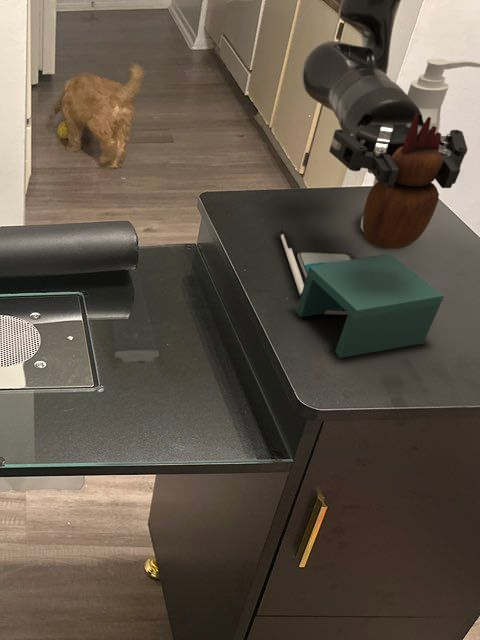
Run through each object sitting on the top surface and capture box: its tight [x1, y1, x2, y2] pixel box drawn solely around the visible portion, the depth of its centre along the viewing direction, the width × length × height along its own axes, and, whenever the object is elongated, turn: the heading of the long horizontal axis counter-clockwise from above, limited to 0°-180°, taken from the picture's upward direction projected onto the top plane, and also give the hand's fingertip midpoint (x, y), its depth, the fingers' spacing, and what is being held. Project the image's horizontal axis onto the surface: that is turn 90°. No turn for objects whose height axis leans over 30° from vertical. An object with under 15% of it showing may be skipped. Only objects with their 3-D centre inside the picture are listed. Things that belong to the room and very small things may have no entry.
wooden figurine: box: [362, 114, 443, 250], centre depth 79 cm, size 7×6×15 cm
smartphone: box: [296, 251, 353, 316], centre depth 99 cm, size 7×1×15 cm
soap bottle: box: [360, 58, 480, 233], centre depth 101 cm, size 13×8×24 cm, turn 164°
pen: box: [279, 229, 305, 298], centre depth 102 cm, size 1×19×1 cm, turn 171°
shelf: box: [296, 253, 445, 359], centre depth 89 cm, size 11×10×7 cm
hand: (421, 179), depth 76 cm, fingers closed on wooden figurine, 5 cm apart
